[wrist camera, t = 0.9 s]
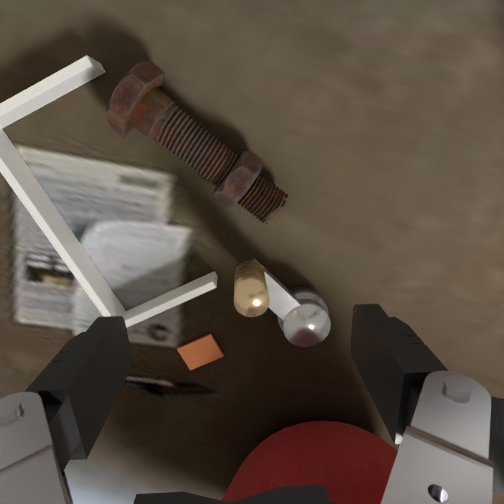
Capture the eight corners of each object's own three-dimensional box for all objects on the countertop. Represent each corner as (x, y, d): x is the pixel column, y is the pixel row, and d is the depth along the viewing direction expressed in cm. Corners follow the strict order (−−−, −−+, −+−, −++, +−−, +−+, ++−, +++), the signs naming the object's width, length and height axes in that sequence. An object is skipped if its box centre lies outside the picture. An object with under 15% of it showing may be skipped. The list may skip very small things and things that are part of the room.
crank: (336, 318, 32) (358, 359, 26) (302, 346, 33) (316, 392, 27) (256, 242, 29) (260, 269, 23) (222, 275, 30) (217, 309, 24)
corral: (100, 63, 26) (86, 55, 23) (217, 276, 32) (216, 287, 30) (-11, 124, 27) (-35, 122, 25) (123, 319, 33) (115, 332, 31)
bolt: (268, 208, 32) (134, 104, 28) (302, 175, 29) (156, 52, 25) (253, 247, 28) (94, 132, 24) (291, 215, 25) (114, 75, 21)
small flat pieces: (313, 278, 33) (317, 285, 31) (331, 317, 34) (335, 327, 32) (172, 339, 34) (169, 350, 33) (195, 374, 36) (193, 386, 34)
